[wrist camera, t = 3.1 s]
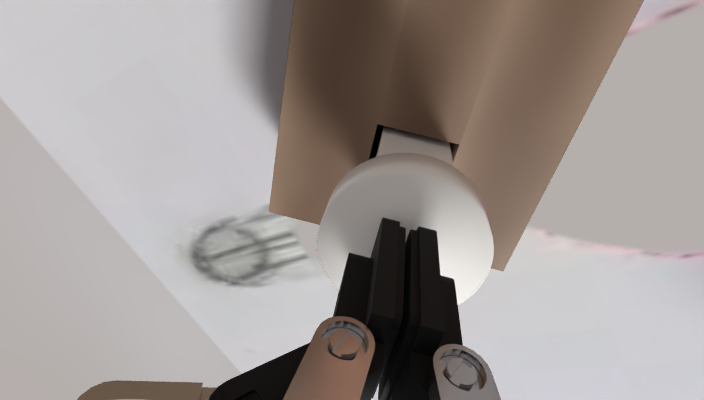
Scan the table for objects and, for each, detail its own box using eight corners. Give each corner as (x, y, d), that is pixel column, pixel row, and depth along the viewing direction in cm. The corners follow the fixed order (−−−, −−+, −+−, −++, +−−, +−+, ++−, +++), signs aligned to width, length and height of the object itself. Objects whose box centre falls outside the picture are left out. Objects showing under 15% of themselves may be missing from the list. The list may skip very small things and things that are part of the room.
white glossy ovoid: (486, 117, 18) (524, 201, 12) (446, 219, 21) (458, 333, 15) (363, 86, 18) (333, 153, 12) (340, 192, 21) (305, 294, 15)
